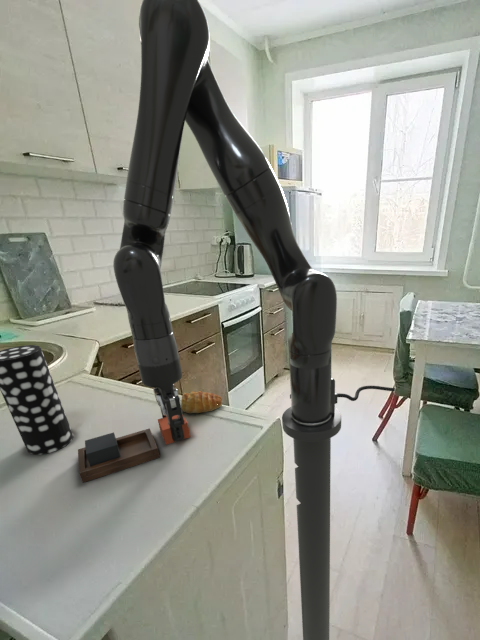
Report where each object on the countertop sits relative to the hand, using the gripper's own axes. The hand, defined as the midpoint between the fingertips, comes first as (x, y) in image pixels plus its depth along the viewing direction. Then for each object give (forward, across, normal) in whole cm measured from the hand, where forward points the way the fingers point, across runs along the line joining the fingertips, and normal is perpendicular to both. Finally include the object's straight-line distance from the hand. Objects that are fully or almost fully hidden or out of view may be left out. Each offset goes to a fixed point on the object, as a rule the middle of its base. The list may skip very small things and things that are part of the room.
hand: (173, 430), depth 73 cm
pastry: (+1, +9, -8) cm, 12 cm away
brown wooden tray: (+1, -2, +11) cm, 11 cm away
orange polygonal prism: (+1, 0, 0) cm, 1 cm away
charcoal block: (0, -2, +13) cm, 13 cm away
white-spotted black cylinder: (+2, +12, +23) cm, 26 cm away
